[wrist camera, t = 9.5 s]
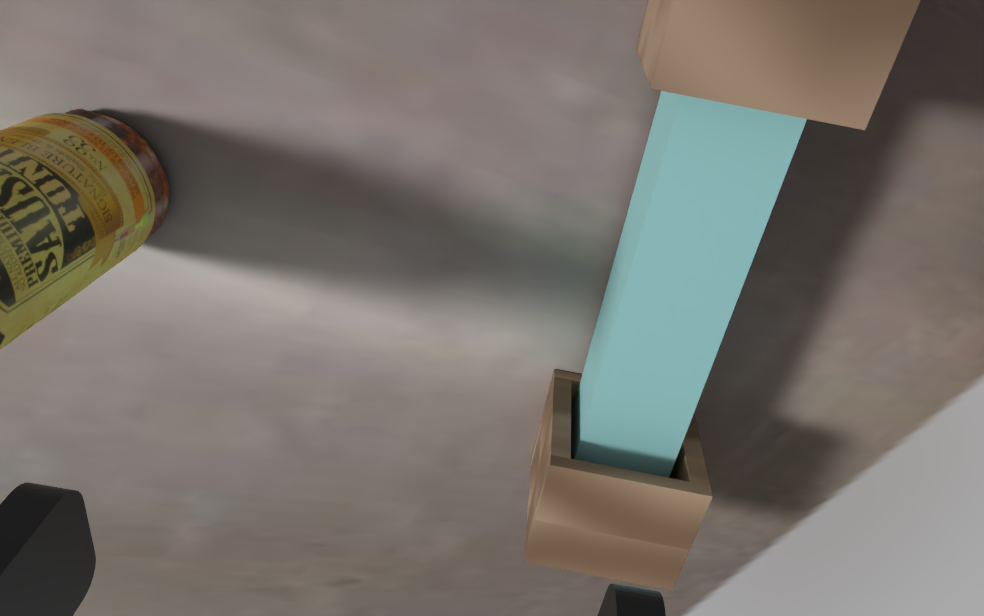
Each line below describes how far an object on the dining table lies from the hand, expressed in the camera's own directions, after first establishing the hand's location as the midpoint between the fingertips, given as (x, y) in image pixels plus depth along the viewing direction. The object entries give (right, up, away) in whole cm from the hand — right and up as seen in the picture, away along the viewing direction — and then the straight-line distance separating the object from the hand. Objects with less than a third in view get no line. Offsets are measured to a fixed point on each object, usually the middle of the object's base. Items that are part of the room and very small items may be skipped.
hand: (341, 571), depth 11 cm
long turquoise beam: (+9, +6, +19) cm, 22 cm away
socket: (+8, -2, +25) cm, 26 cm away
